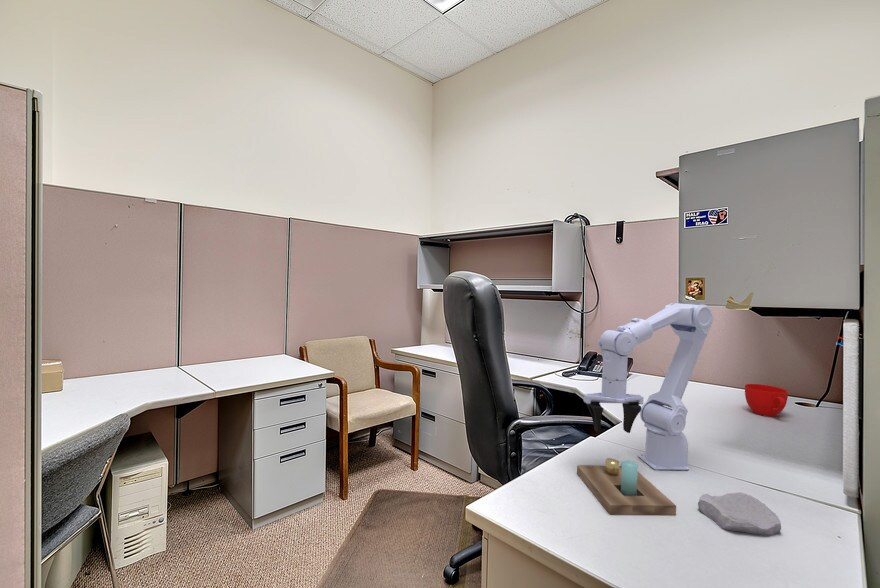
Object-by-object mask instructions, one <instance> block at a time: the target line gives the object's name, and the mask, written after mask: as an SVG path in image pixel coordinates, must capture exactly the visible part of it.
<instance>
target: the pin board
mask: <svg viewBox="0 0 880 588" xmlns="http://www.w3.org/2000/svg"><path fill="white" fill-rule="evenodd" d="M621 471H622V465H620V461H619V460H618V459H616V458H611V457H609V458H606V459H605V465H595V464H594V465H589V464H587V465H586V464H585V465H582V464H579V465H578V464H577V465H576V474H577V475H578V477H579V478H580V479H581V480H582V481H583V483H584V484H585V485H586V487H587V488H588V489H589V491H590V492H591V493H592V494H593V495H594V497H596V500H598V501H599V503H600V504H601V505H602V507H603V508H604V509H605V510H606V512H607V513H608V514H609V516H610V515H611V516H612V515H615V516H616V515H617V516H622V515H623V516H624V515H625V516H627V515H628V516H632V515H633V516H639V515H640V516H676V515H677V505H676V504H675V503H674V502H673V501H672V500H671V499H670V498H669V497H667V496H666V495H665V494H664V493H663V492H662V491H661V490H659V488H657V487H656V485H654V484H653V483H652V482H650V481H649V480H648V479H647V477H645V476H643V474H641V473H640V472H639V471H638V473H637V496H623V494H622V493H621Z"/></svg>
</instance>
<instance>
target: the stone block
mask: <svg viewBox="0 0 880 588" xmlns="http://www.w3.org/2000/svg"><path fill="white" fill-rule="evenodd" d="M697 506H698V507H697V508H698V510H699V511H700V513H702V514H703V515H704V516H705V517H707V518H709V519H711V520H712V521H714V522H715V524H716V525H717V526H718V527H720V528H721V529H723V530H727V531H734V532H735V531H736V532H743V533H748V534H752V535H753V534H755V535H762V536H773V535H776V534H778V533H780V532H781V530H782V524H781V519H780V517H778V515H777V514H776V513H775V512H773V510H772V509H770V508H769V506H767V505H766V503H763V502H762V501H760V499H758V498H757V497H754V496H753V495H749V494H747V493H744V492H732V493H731V492H730V493H729V492H728V493H725V494H723V495H719V496H716V495H710V494H709V493H703V494H701V496H700V497H699V499H698V502H697Z"/></svg>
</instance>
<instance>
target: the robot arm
mask: <svg viewBox="0 0 880 588" xmlns="http://www.w3.org/2000/svg"><path fill="white" fill-rule="evenodd" d="M713 322H714V317H713V313H712V310H711V308H710V306H708V305H706V304H704V303H703V304H694V303H692V304H691V303H681V302H680V303H679V302H671V303H669V304H666V305H665V306H664V308H663V309H661V310H660V311H658V312H656V313H654V314H653V315H651V316H649V317H648V318H646V319H643V318H637V317H634V318H631V320H630V321H629V322H628V323H626V324H624V325H619V326H618V327H617V328H616V329H615V330H613V329H608V330H605V331H604V332H603V333H602V334H601V335H600V337H599V339H598V341H597V343H598V344H597V345H598V347H599V349H600V351H601V357H602V371H601V372H602V374H601V392H596V393H595V392H594V393H584V394H583V402H584V403H585V404H586V406H587V408H588V410H589V413H590V415H591V420H592V424H593V430H594V431H595V432H596V433H601V430H602V417H603V412H604V407H602V404H622V409H623V410H622V411H623V423H622V424H623V425H622V426H623V427H622V428H623V429H622V430H623V431H624V432H625V433H627V434H630V433H631V430H632V428H633V424H634V422H635V420H636V419H637V416H638V415H639V416H640V420H641V421H642V422H643V423H644V425H643V426H644V428H646V429H645V431H646V433H645V434H646V435H645V454H638V455H637V456H638V458H639V459H641V460H642V461H643V462H644V463H646V465H647V466H649V467H650V468H651V469H652V470H660V471H661V470H665V471H667V470H668V471H669V470H670V471H672V470H673V471H674V470H676V471H678V470H679V471H689V469H690V468H689V467H688V458H689V457H688V455H689V454H688V453H689V442H688V438H687V436H686V434H684V432H683V431H684V430H685V427H686V423H687V421H686V419H687V415H688V408H687V407H686V406H685V404H684V402H683V401H682V398H683V396H684V393H685V391H686V388H687V386H688V383H689V381H690V378H691V376H692V375H693V374H692V373H693V371H694V369H695V366H696V363H697V360H698V359H699V356H700V354H701V351H702V348H703V346H704V344H705V340H706V339H707V337H708V334H709V331H710V328H711V327H712V325H713ZM668 326H669V327H670V328H671V330H672V331H673V332H674V334H675V335H677V336H678V338H679V342H678V344H677V347H676V349H675V352H674V354H673V355H672V356H673V357H672V359H671V361H670V364H669V367H668V369H667V372H666V374H665V377H664V379H663V380H662V384H661V386H660V389H659V391H657V392H655V393H652V394H650V395H648V398H647V399H646V401H645V402H644V396H643V395H640V394H633V393H632V394H631V393H627V382H628V381H627V380H628V379H627V378H628V358H629V355H631V354H632V352H633V351H634V349H635V348H636V347H637V346H639V344H640V345H641V344H642V343H643V342H646V341H647V340H649V339H652V337H653V333H654V332H655V331H658V330H660V329H663V328H665V327H668ZM641 405H642V406H641Z"/></svg>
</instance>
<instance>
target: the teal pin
mask: <svg viewBox="0 0 880 588" xmlns="http://www.w3.org/2000/svg"><path fill="white" fill-rule="evenodd" d="M621 466H622V471H621V493H622V494H623V496H637V473H638V472H639V469H638V468H639V464H638V463H636V462H634V461H631V460H623V461H621Z"/></svg>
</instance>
